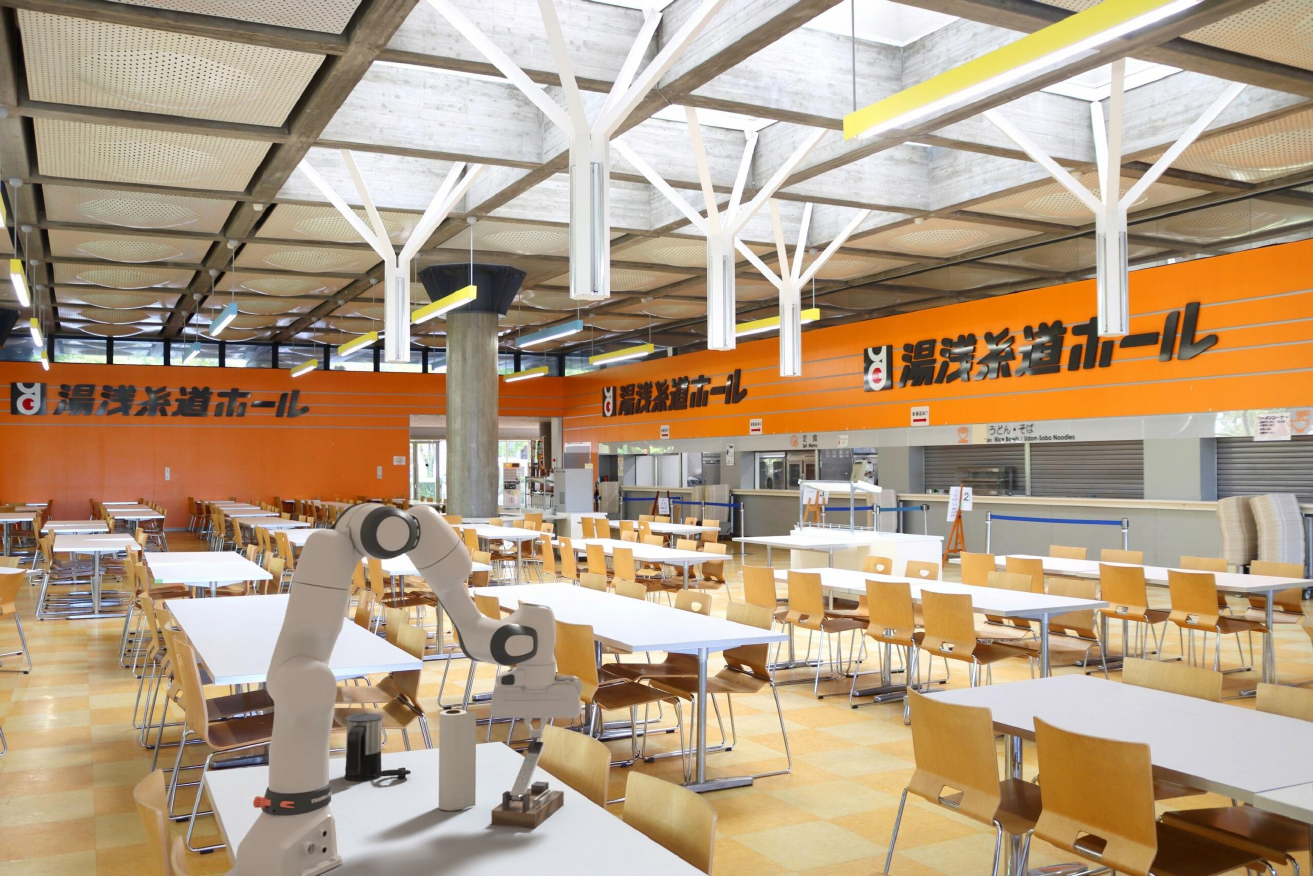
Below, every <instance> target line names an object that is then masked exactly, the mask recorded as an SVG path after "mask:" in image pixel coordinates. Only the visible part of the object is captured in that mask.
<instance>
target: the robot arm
mask: <svg viewBox="0 0 1313 876" xmlns="http://www.w3.org/2000/svg"><path fill="white" fill-rule="evenodd" d="M404 554H405V555H406V556H407V557H408V558H409V560H410V562H411V563H412V565H413V567H415V569H416V570H417V571H418V573H419V574H420V576H421V577H422V578H423V580H424V581H425V582H426V583H427V585H428V586H429V588H430V589H431V590H432V591H433V592H432V593H433V594H434V595H435V597H436V600H438V603H439V604H440V605H441V607H442V609H443V611H444V612H445V614H446V615H447V617H448V618H449V619H450V621H451V623H452V624H453V626H454V628H455V631H456V634H457V635H456V636H457V638H458V643H459V646H460V649H461V652H462V653H463V655H465V657H467V658H468V659H470V661H474V662H479V663H481V662H483V663H488V664H491V665H496V666H497V665H498V666H501V667H508V666H513V665H514V666H515V665H516V667H514V668H513V667H512V668H511V669H507V670H504V671H502V672H500V673H499V674H498V675H497V676H496V678H495V682H496V687H495V688H494V690H493V692H492V695H491V701H490V715H491V717H492V718H494V719H524V721H523V723H524V725H525V727H526V728H527V730H528V732H529V733H528V738H529V739H543V738H544V737H543V736H544V728H545V727H546V725H547V723H548V721H549V719H577V718H579V716H580V715H581V714H582V700H581V695H582V692H583V682H582V680H581V679H580V678H579V677H577V676H576V675H573V674H572V675H557V659H556V655H555V647H556V644H557V629H556V628H557V627H556V618H555V614H554V611H553V608H551V607H550V606H548V605H543V604H536V603H529V602H525V603H521V604H520V606H518V608H517V609H516V610H515V611H514V612H512V613H511V614H509V615H508V616H506V617H504V618H502V619H495V618H492V617H489V616H487V615H485V614H483V613H482V612H481V611H480V610H479V608H478V607H477V606H476V604H475V602H474V600H473V598H472V597H471V595H470V594H469V592H468V591H467V589H466V587H465V585H464V583H465V582H466V580H468V578H469V576H470V574H471V573H472V569H473V559H472V556H471V554H470V551H469V550H468V548H467V546H466V544H465V543H464V541H463V540H462V539H461V537H460V536H459V535H458V533H457V532H456V530H455V529H454V528H453V526H452V525H451V524H450V523H449V522H448V521H447V519H445V517H444V516H443V515H441V514H440V512H439V511H438V510H436V509H435V508H434V507H432V506H431V505H428V504H419V505H418V504H417V505H414V506H412V507H409V508H408V509H407V510H406V511H405V510H403V509H401V508H398V507H396V506H390V505H385V504H382V503H378V502H360V503H359V502H358V503H356V504H355V503H354V504H352V505H350V506H348V507H347V508H345V509H344V510H343V511H342V512H341V513H340V514H339V516H337V519H336V520H335V521H334V522H333V524H331V526H330V527H329V528H323V529H319V530H316V531H313V532H312V533H311V534H310V535H308V536H307V538H306V540H305V542H304V544H303V546H302V550H301V552H300V554H299V557H298V560H297V564H296V567H295V571H294V574H293V579H292V583H291V587H290V591H289V597H288V601H287V605H286V606H287V607H286V610H285V615H284V618H283V622H282V626H281V629H280V631H279V635H278V637H277V640H276V643H275V646H274V649H273V653H272V656H271V658H270V659H271V660H270V663H269V667H268V670H267V673H266V678H265V679H266V680H265V687H266V691H267V693H268V695H269V696H270V698H271V699H272V701H273V703H274V711H273V712H274V714H273V724H272V731H271V738H270V743H269V749H268V750H269V751H268V756H269V757H268V786H267V788H266V789H265V793H264V796H255V797H254V799H253V801H252V806H253V808H256V809H258V808H261V810H262V811H261V813H260V815H258V816H257V819H256V820H255V822H254V823H253V824H252V826H251V827H250V829H249V830H248V832H247V833H246V834H245V836H244V837H243V839H242V840H241V841H240V842H239V844H238V846H237V850H236V854H235V865H234V866H233V867H232V868H231V869H229V870H228V871H227V872H226V873H224V874H223V875H222V876H319V875H321V874H322V873H324V872H327V871H328V870H331V869H334V868H336V867H338V866H340V865H342V864H343V858H342V856H341V855H340V854H338V846H337V845H338V843H337V842H338V841H337V830H336V829H337V828H336V820H335V817H334V815H333V813H332V811H331V807H330V803H331V801H332V793H333V792H332V791H333V790H332V782H331V781H330V744H331V743H330V742H331V734H332V729H333V722H334V715H335V707H336V699H337V696H338V695H337V694H338V684H337V680H336V677H335V674H334V673H333V671H332V669H331V668H329V663H330V659H331V656H332V654H333V651H334V648H335V645H336V643H337V640H338V639H339V635H340V634H341V632H342V629H343V625H344V621H345V616H346V612H347V607H348V602H349V597H350V592H351V586H352V582H353V575H354V573H355V570H356V567H357V566H358V564H359V563H360V562H361V560H362V559H364V558H367V559H368V558H369V559H374V560H375V559H378V560H391V559H395V558H397V557H399V556H402V555H404ZM533 719H540V724H541V726H540V728H533V726H532V724H531V722H532V720H533Z"/></svg>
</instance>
